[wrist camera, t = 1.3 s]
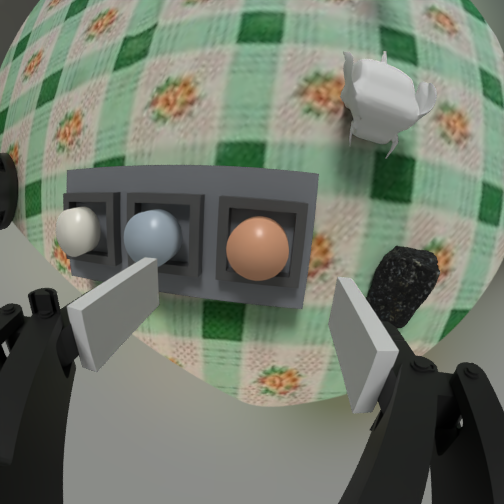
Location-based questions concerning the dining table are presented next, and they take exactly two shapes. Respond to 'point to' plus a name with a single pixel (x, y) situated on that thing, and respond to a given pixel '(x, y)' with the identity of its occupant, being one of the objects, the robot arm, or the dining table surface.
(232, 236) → the terracotta button
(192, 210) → the console
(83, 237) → the ivory button
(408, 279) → the rock
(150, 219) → the slate button
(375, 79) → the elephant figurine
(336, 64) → the dining table surface
